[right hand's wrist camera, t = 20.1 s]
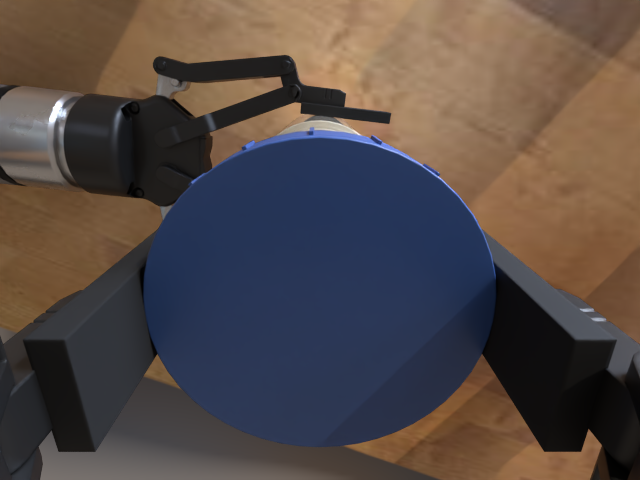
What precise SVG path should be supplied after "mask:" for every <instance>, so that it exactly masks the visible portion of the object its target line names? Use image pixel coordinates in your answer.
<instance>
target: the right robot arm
mask: <svg viewBox="0 0 640 480" xmlns="http://www.w3.org/2000/svg"><path fill="white" fill-rule="evenodd" d="M481 230H482V229H481ZM482 231H483V230H482ZM156 232H157V230H156V231H155V232H154V233H153V234H151V235H150V236H149V237H148V238H147V239H145V240H144V241H143V242H142V243H140V244H139V245H138V246H137V247H136V248H134V249H133V250H132V251H131V252H129V253H128V254H127V255H126V256H124V257H123V258H122V259H121V260H120V261H118V262H117V263H116V264H115V265H113V266H112V267H111V268H110V269H109V270H107V271H106V272H105V273H104V274H102V275H101V276H100V277H99V278H98V279H96V280H95V281H94V282H93V283H91V284H90V285H89V286H88V287H87V288H85V289H84V290H80V291H78V292H76V293H73V294H71V295H69V296H67V297H65V298H63V299H61V300H59V301H58V302H57V303H55V304H54V305H53V306H52V307H50V308H49V309H48V310H47V311H46V313H43V314H41V315H40V316H39V317H38V318H36V319H35V320H34V323H30V324H29V325H27V326H26V327H25V328H23V329H22V330H21V331H20V332H18V333H17V334H16V335H15V336H13V337H12V338H11V339H9V340H8V341H7V342H6V343H4V344H3V343H2V340H1V337H0V480H40V476H41V471H42V465H43V463H42V456H41V453H40V450H39V447H38V446H39V445H40V444H41V443H42V441H43V440H44V439H45V438H46V436H47V435H48V434H49V433H50V431H51V430H52V433H53V436H54V439H55V442H56V445H57V448H58V451H59V452H95V451H96V450H97V448H98V447H99V445H100V444H101V442H102V440H103V439H104V437H105V436H106V434H107V433H108V431H109V429H110V428H111V426H112V425H113V423H114V422H115V420H116V418H117V417H118V415H119V414H120V412H121V410H122V409H123V407H124V406H125V404H126V403H127V401H128V399H129V398H130V396H131V395H132V393H133V391H134V390H135V388H136V387H137V385H138V384H139V382H140V380H141V379H142V377H143V376H144V374H145V373H146V371H147V369H148V368H149V366H150V365H151V363H152V361H153V360H154V358H155V357H156V355H157V351H156V349H155V347H154V344H153V342H152V339H151V337H150V334H149V330H148V326H147V321H146V316H145V310H144V302H143V283H144V272H145V267H146V262H147V257H148V253H149V250H150V248H151V245H152V242H153V239H154V237H155V234H156ZM483 233H484V235H485V238H486V241H487V244H488V247H489V249H490V252H491V255H492V260H493V265H494V270H495V275H496V305H495V313H494V319H493V323H492V327H491V331H490V335H489V338H488V340H487V343H486V345H485V347H484V350H483V352H482V354H483V356H484V357H485V359H486V360H487V362H488V363H489V365H490V367H491V368H492V370H493V371H494V373H495V375H496V376H497V378H498V379H499V381H500V382H501V384H502V386H503V387H504V389H505V390H506V392H507V393H508V395H509V397H510V398H511V400H512V401H513V403H514V405H515V406H516V408H517V409H518V411H519V412H520V414H521V416H522V417H523V419H524V420H525V422H526V424H527V425H528V427H529V428H530V430H531V431H532V433H533V435H534V436H535V438H536V439H537V441H538V442H539V444H540V446H541V447H542V449H543V450H544V452H581V450H582V447H583V444H584V441H585V438H586V435H587V432H588V429H589V430H590V431H591V432H592V433H593V435H594V436H595V437H596V438H597V439H598V441H599V442H600V443H601V444H602V447H601V450H600V453H599V456H598V458H597V461H596V464H595V467H594V470H593V473H592V476H591V479H590V480H640V345H639V344H638V343H637V342H636V341H634V340H633V339H632V338H630V337H629V336H628V335H627V334H625V333H624V332H623V331H621V330H620V329H619V328H617V327H616V326H615V325H614V324H612V323H611V322H610V321H606V318H605V317H603V316H602V315H601V314H599V313H598V312H594V309H593V308H592V307H590V306H589V305H588V304H586V303H585V302H584V301H583V300H581V299H580V298H578V297H576V296H574V295H572V294H570V293H567V292H565V291H563V290H561V289H554V288H553V287H552V286H551V285H550V284H548V283H547V282H546V281H545V280H543V279H542V278H541V277H540V276H538V275H537V274H536V273H535V272H534V271H532V270H531V269H530V268H529V267H527V266H526V265H525V264H524V263H523V262H521V261H520V260H519V259H518V258H516V257H515V256H514V255H513V254H512V253H510V252H509V251H508V250H507V249H505V248H504V247H503V246H502V245H501V244H499V243H498V242H497V241H496V240H494V239H493V238H492V237H491V236H490V235H488V234H487V233H486V232H485V231H483Z"/></svg>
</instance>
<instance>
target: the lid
mask: <svg viewBox="0 0 640 480" xmlns="http://www.w3.org/2000/svg"><path fill="white" fill-rule="evenodd" d="M439 175H440V174H439V173H438V172H437V171H435V170H434V169H432V168H431V167H429V166H427V165H426V164H424V165H421V164H420V163H418V162H417V161H415V160H414V159H412V158H411V157H409V156H408V155H406V154H405V153H403V152H401V151H399V150H397V149H395V148H393V147H391V146H389V145H387V144H385V143H382V141H381V140H380V139H378V138H377V137H376V136H373V135H372V136H371V138H368V137H365V136H361V135H356V134H351V133H346V132H339V131H325V130H315V131H314V127H310V130H309V131H300V132H293V133H288V134H283V135H279V136H274V137H271V138H268V139H266V140H263V141H260V142H257V143H255V142H254V140H253V141H251V142H249V143H248V144H246V145H245V146H243V147H242V150H241V151H239V152H237V153H235V154H233V155H232V156H230V157H229V158H227V159H226V160H224V161H223V162H221V163H219V164H218V165H217V166H215V167H214V168H212V169H211V170H210V171H208V172H207V173H204V174H202V175H201V176H199V177H198V178H196V179H195V180H193V181H191V182H190V183H189V184H188V185H189V186H190V187H189V188H188V189H187V190H186V191H185V192H184V193H183V194H182V195H181V196H180V197H179V198H178V200H177V201H176V202H175V204H174V205H173V206H172V207H171V209H170V210H169V211H168V213H167V214H166V216H165V218H164V219H163V221H162V223H161V225H160V227H159V228H158V230H157V232H156V234H155V237H154V239H153V242H152V245H151V248H150V250H149V253H148V257H147V262H146V267H145V272H144V283H143V302H144V310H145V316H146V321H147V326H148V330H149V334H150V337H151V339H152V342H153V344H154V347H155V349H156V351H157V354H158V356H159V357H160V359H161V361H162V362H163V364H164V366H165V368H166V369H167V371H168V372H169V374H170V375H171V376H172V378H173V379H174V380H175V381H176V383H177V384H178V385H179V387H180V388H181V389H182V390H183V391H184V392H185V393H186V394H187V395H188V396H189V397H190V398H191V399H192V400H193V401H194V402H196V403H197V404H198V405H200V406H201V407H202V408H203V409H205V410H206V411H207V412H208V413H210V414H211V415H213V416H215V417H216V418H218V419H219V420H221V421H223V422H224V423H226V424H228V425H230V426H232V427H234V428H236V429H238V430H240V431H242V432H245V433H248V434H250V435H253V436H256V437H259V438H261V439H265V440H270V441H274V442H277V443H282V444H289V445H295V446H306V447H333V446H344V445H351V444H358V443H362V442H366V441H370V440H374V439H378V438H381V437H383V436H386V435H389V434H392V433H394V432H397V431H399V430H401V429H403V428H405V427H407V426H409V425H411V424H413V423H415V422H417V421H418V420H420V419H422V418H423V417H425V416H426V415H428V414H430V413H431V412H432V411H434V410H435V409H436V408H437V407H439V406H440V405H441V404H442V403H444V402H445V401H446V400H447V399H448V398H449V397H450V396H451V395H452V394H453V393H454V392H455V391H456V390H457V389H458V388H459V387H460V386H461V384H462V383H463V382H464V381H465V379H466V378H467V377H468V375H469V374H470V373H471V372H472V370H473V368H474V366H475V365H476V363H477V361H478V360H479V358H480V356H481V355H482V352H483V350H484V347H485V345H486V343H487V340H488V338H489V335H490V331H491V327H492V323H493V319H494V313H495V305H496V275H495V270H494V265H493V260H492V255H491V252H490V249H489V247H488V244H487V241H486V238H485V235H484V233H483V231H482V230H481V228H480V226H479V224H478V221H477V219H475V217H474V215H473V214H472V212H471V211H470V210H469V208H468V207H467V206H466V204H465V203H464V202H463V200H462V199H461V198H460V196H459V195H458V194H457V193H456V192H455V191H453V190H452V189H451V188H450V187H449V186H448V185H447V184H446V183H445V182H444V181H443V180H442V179H441V178H440V177H438V176H439Z"/></svg>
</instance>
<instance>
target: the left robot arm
mask: <svg viewBox="0 0 640 480" xmlns="http://www.w3.org/2000/svg"><path fill="white" fill-rule="evenodd" d="M153 68H154V70H155V71H156V72H157V73H158V82H157V90H156V95H153V96H151V97H149V98H147V99H133V98H124V97H116V96H107V95H98V94H87V95H83V94H81V93H80V92H72V91H64V90H55V89H47V88H38V87H30V86H16V85H11V86H10V85H3V84H0V183H2V184H12V185H21V186H31V187H39V188H48V189H57V190H65V191H74V192H82V191H87V192H89V193H94V194H103V195H113V196H122V197H131V198H143V199H146V200H149V201H151V202H153V203H154V204H156V205H158V206H160V209H161V214H162V219H164V218H165V216H166V214H167V213H168V211H169V210H170V209H171V207H172V206H173V205H174V204H175V202H176V201H177V200H178V198H179V197H180V196H181V195H182V194H183V193H184V192H185V191H186V190H187V189H188V188H189V187H190V186H189V185H188V184H189V183H190V182H191V181H193V180H195V179H196V178H198V177H199V176H201V175H202V174H204V173H207V172H208V171H210V170H211V169H212V163H211V159H210V152H211V149H212V136H210V132H212V131H215V130H218V129H221V128H224V127H226V126H229V125H232V124H235V123H238V122H240V121H243V120H246V119H249V118H252V117H255V116H257V115H260V114H263V113H266V112H269V111H272V110H274V109H277V108H280V107H283V106H286V105H288V104H291V103H294V102H297V103H301V114H309V115H318V116H326V117H335V118H343V119H352V120H360V121H369V122H378V123H386V124H389V123H390V117H391V113H388V112H383V111H374V110H366V109H358V108H349V107H344V105H345V97H346V93H344V92H342V91H341V90H337V89H329V88H321V87H312V86H306V85H304V84H302V83H301V81H300V79H299V76H298V72H297V68H296V64H295V62H294V60H293V59H292V58H291V57H290V56H287V55H281V56H270V57H258V58H247V59H236V60H224V61H213V62H202V63H191V64H187V63H184V62H180V61H177V60H173V59H169V58H166V57H157V58H156V59H155V60H154V62H153ZM270 77H281V80H282V84H283V87H282V88H279V89H276V90H273V91H271V92H268V93H265V94H262V95H260V96H257V97H254V98H251V99H248V100H246V101H243V102H240V103H237V104H235V105H232V106H229V107H226V108H223V109H221V110H218V111H215V112H212V113H209V114H206V115H203V116H200V117H197V118H195V117H194V116H193V115H192V114H191V113H190V112H189V111H187V110H186V109H185V108H184V107H183V106H182V105H180V104H179V103H178V102H177V101H176V100H175V99H174V95H175V94H176V93H177V92H180V91H187V90H188V89H189V88H190V84H191V82H194V83H212V82H224V81H235V80H247V79H258V78H270Z"/></svg>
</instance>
